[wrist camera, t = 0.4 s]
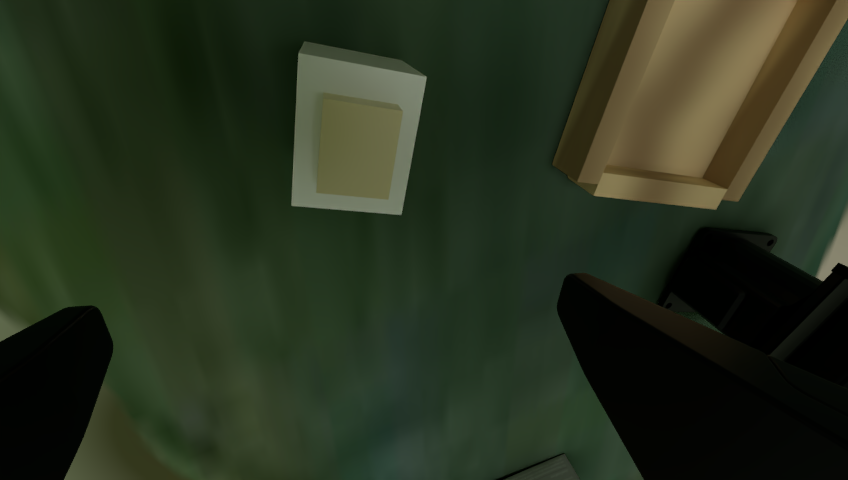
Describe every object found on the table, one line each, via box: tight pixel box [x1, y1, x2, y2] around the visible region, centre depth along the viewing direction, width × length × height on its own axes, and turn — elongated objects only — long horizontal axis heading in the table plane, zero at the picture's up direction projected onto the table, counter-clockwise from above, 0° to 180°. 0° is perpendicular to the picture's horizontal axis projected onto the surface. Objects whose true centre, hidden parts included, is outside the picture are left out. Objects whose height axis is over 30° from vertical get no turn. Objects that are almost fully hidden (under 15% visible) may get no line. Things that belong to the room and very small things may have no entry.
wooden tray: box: [552, 0, 848, 210], centre depth 19 cm, size 10×11×2 cm
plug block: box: [291, 41, 427, 215], centre depth 15 cm, size 4×5×6 cm
